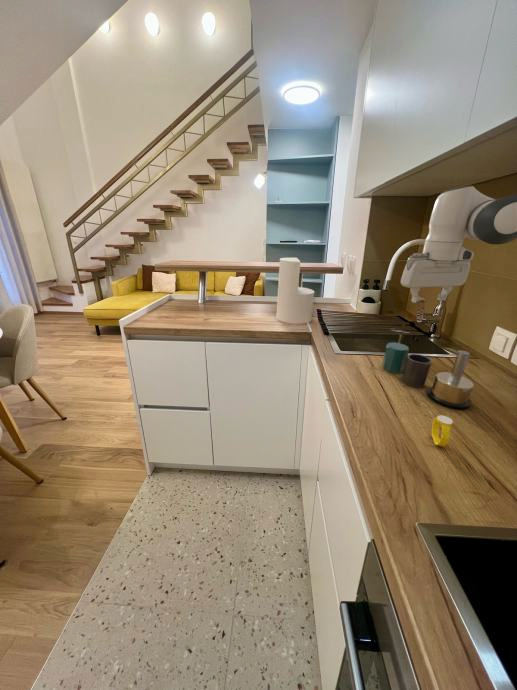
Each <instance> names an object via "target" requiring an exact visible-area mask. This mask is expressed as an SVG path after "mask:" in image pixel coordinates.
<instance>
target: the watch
mask: <svg viewBox="0 0 517 690" xmlns="http://www.w3.org/2000/svg"><path fill="white" fill-rule="evenodd" d="M453 424H454V421H453V420H452V418H450V417H448V416H447V415H443V414H439V415H437V416H436V417H435V418H434V419H433V421H432V426H431V437H432V439H433V442H434V443H433V444H434V445H435V446H440V447H446V446H447V445H448V443H449V440H450V437H451V427H452V426H453ZM440 427H441V435H440Z"/></svg>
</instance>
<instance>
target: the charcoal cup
mask: <svg viewBox="0 0 517 690" xmlns="http://www.w3.org/2000/svg"><path fill="white" fill-rule="evenodd" d="M432 363H433V360H432V359H431V358H430V357H427V356H425V355H423V354H417V353H412V354H410V353H408V356H407V359H406V363H405V367H404V370H403V372H402V375H401V378H400V379H401V380H400V381H401V382H402V383H403V384H404V385H406V386H407V387H410V388H414V389H422V388H424V387H425V385H426V383H427V379H428V376H429V373H430V371H431V366H432Z"/></svg>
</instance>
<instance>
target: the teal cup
mask: <svg viewBox="0 0 517 690" xmlns="http://www.w3.org/2000/svg"><path fill="white" fill-rule="evenodd" d="M409 349H410V348H409V346H407V344H403V343H401V342H400V343H399V342H388V343H387V344H386V346H385V349H384V355H383V358H382V363H381V368H382V370H384V371H386V372H388V373H391V374H401V373H403V370H404V367H405V363H406V359H407V356H408V355H409V352H410V350H409Z"/></svg>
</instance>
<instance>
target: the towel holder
mask: <svg viewBox="0 0 517 690" xmlns="http://www.w3.org/2000/svg"><path fill="white" fill-rule="evenodd" d="M470 355H471V352H469V351H467V350H462V349H461V350H458V351H457V353H456V357H455V360H454V363H453V367H452V369H451V372H447V371H442V372H438V373H436V374H435V377H434V381H433V383H432V386H430V387H428V388H427V391H426V395H427V398H428V399H430V400H431V401H432V402H433V403H435V404H437V405H439V406H441V407H444V408H446V409H449V410H455V411H466V410H468V409H469V408H470V407H471V405H472V401H471V399H470V397H471V394H472V391H473V389H474V386H475V384H474V382H473V381H472V380H471V379H469V378H467V377H466V376H464V375H463V374H464V371H465V368H466V366H467V363H468V361H469V357H470Z"/></svg>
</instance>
